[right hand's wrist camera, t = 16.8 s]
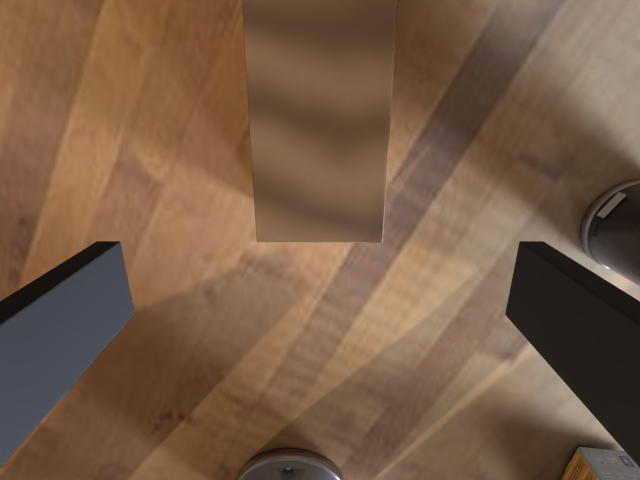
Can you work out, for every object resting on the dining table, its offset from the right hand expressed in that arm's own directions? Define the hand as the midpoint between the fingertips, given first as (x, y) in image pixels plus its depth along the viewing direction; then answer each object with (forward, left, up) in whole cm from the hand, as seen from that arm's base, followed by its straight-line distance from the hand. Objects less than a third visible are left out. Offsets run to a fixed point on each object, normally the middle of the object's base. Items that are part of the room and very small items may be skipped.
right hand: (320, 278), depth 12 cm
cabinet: (+3, -3, -26) cm, 26 cm away
